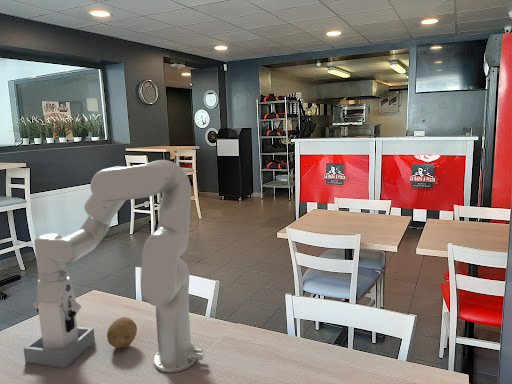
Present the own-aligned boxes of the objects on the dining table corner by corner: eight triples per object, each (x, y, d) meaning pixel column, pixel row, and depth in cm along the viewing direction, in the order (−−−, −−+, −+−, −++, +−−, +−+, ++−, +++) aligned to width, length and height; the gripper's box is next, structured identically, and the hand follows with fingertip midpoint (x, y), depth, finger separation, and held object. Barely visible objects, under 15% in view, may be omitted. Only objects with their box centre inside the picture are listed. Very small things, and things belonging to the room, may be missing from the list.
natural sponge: (131, 356, 121) (129, 326, 119) (103, 356, 121) (100, 326, 120) (141, 340, 130) (139, 312, 128) (115, 340, 130) (112, 312, 129)
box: (95, 342, 129) (93, 328, 128) (66, 368, 116) (64, 352, 115) (57, 338, 132) (55, 324, 131) (25, 363, 119) (23, 348, 118)
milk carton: (64, 354, 119) (57, 296, 116) (43, 352, 121) (36, 294, 118) (79, 342, 126) (72, 286, 123) (59, 340, 128) (52, 284, 124)
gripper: (86, 271, 121) (91, 325, 124) (37, 268, 125) (43, 320, 128) (70, 281, 114) (76, 337, 117) (18, 278, 117) (26, 332, 121)
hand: (59, 328), depth 122 cm, fingers closed on milk carton, 7 cm apart
